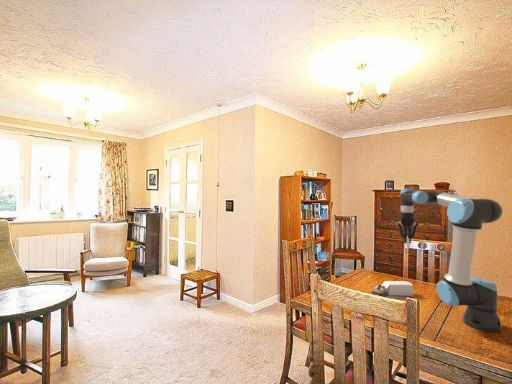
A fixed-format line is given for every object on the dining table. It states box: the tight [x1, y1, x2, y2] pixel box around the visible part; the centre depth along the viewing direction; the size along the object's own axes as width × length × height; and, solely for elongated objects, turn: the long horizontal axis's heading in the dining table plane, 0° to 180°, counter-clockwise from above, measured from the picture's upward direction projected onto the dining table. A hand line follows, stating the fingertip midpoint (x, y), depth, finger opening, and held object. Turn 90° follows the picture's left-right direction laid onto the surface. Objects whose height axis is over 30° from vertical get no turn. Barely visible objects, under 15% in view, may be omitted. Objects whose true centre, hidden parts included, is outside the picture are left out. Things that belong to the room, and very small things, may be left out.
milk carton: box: [381, 280, 414, 297], centre depth 180 cm, size 7×7×19 cm
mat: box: [388, 294, 411, 300], centre depth 182 cm, size 20×17×1 cm
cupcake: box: [370, 284, 388, 297], centre depth 167 cm, size 10×10×10 cm
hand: (407, 248), depth 179 cm, fingers closed
